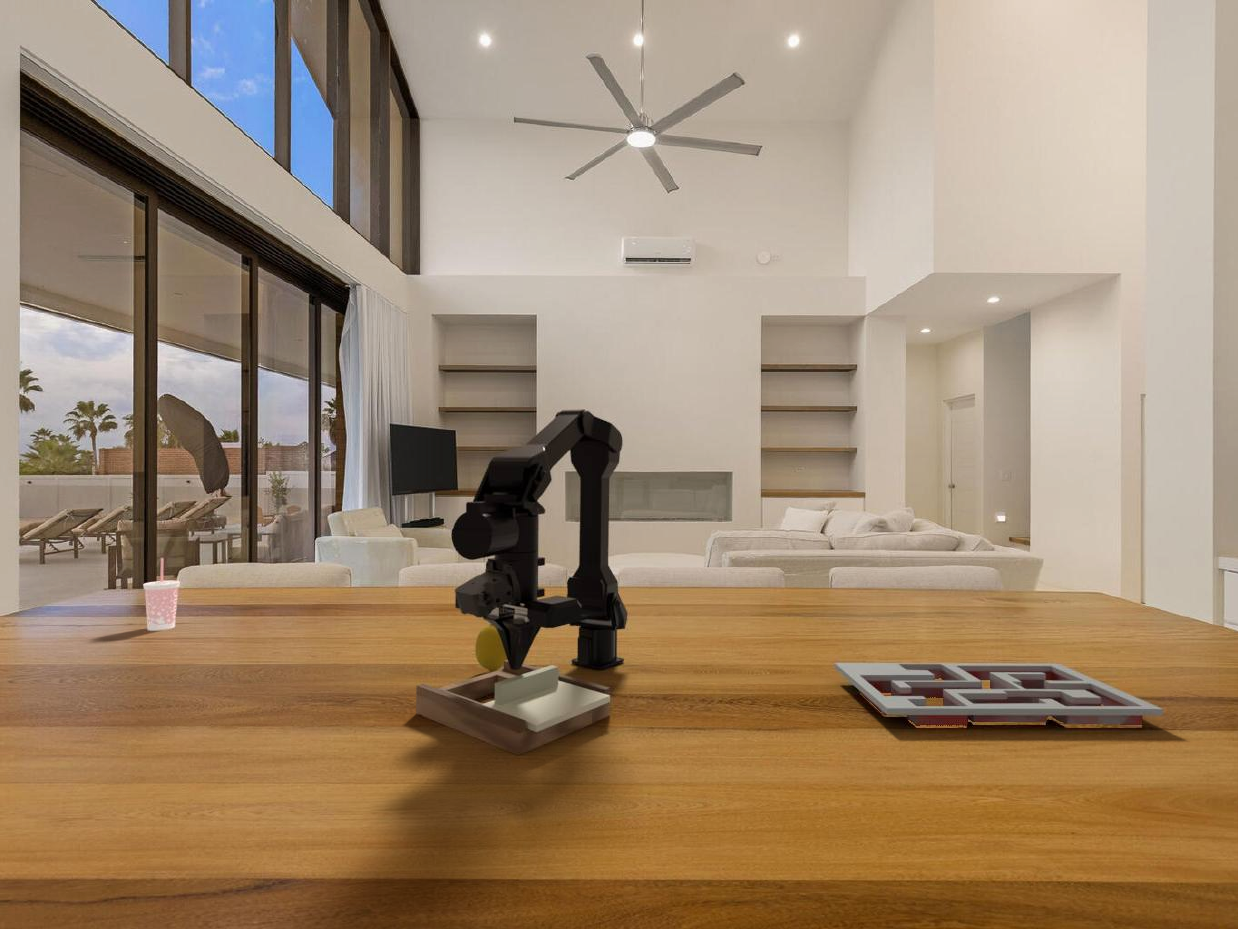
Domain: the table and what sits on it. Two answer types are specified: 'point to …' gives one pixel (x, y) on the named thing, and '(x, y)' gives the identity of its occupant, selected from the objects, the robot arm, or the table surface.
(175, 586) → the beverage cup
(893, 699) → the maze game
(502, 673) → the sliding lid box
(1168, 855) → the table surface
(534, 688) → the cover
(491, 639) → the lemon
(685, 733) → the table surface
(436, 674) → the table surface
